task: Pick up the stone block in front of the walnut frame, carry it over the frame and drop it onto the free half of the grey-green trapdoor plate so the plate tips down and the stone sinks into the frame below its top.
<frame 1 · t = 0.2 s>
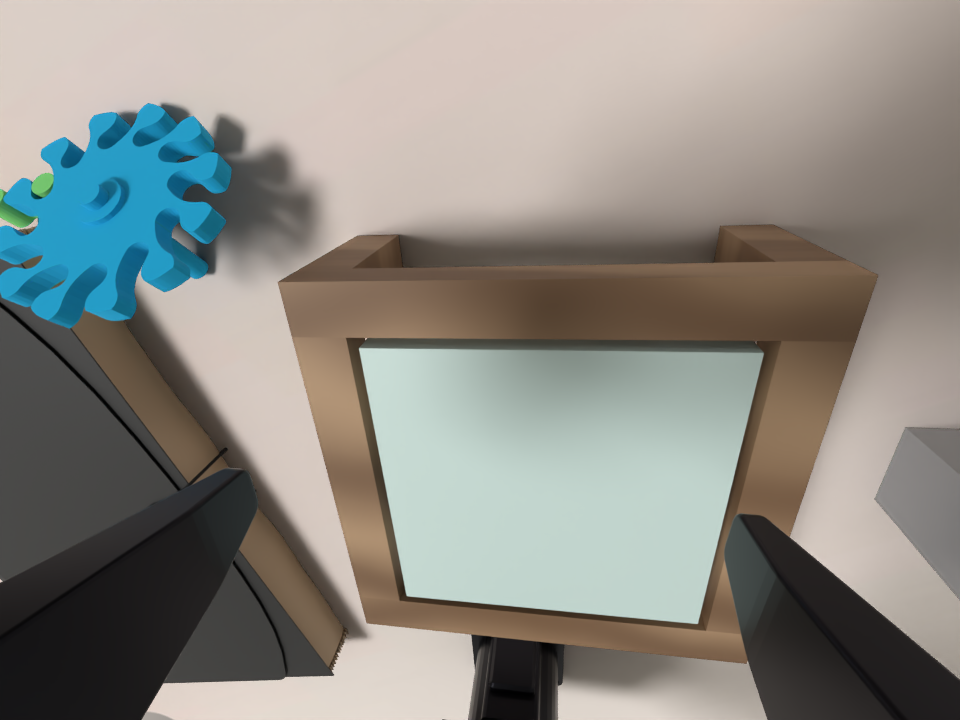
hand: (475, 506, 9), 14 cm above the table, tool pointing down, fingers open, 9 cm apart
gear: (172, 196, 22), on the table
stone block: (940, 466, 23), on the table
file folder: (115, 490, 34), on the table
trapdoor: (546, 491, 19), point 6 cm above the table, hinge at 0.0°
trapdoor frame: (548, 404, 24), on the table
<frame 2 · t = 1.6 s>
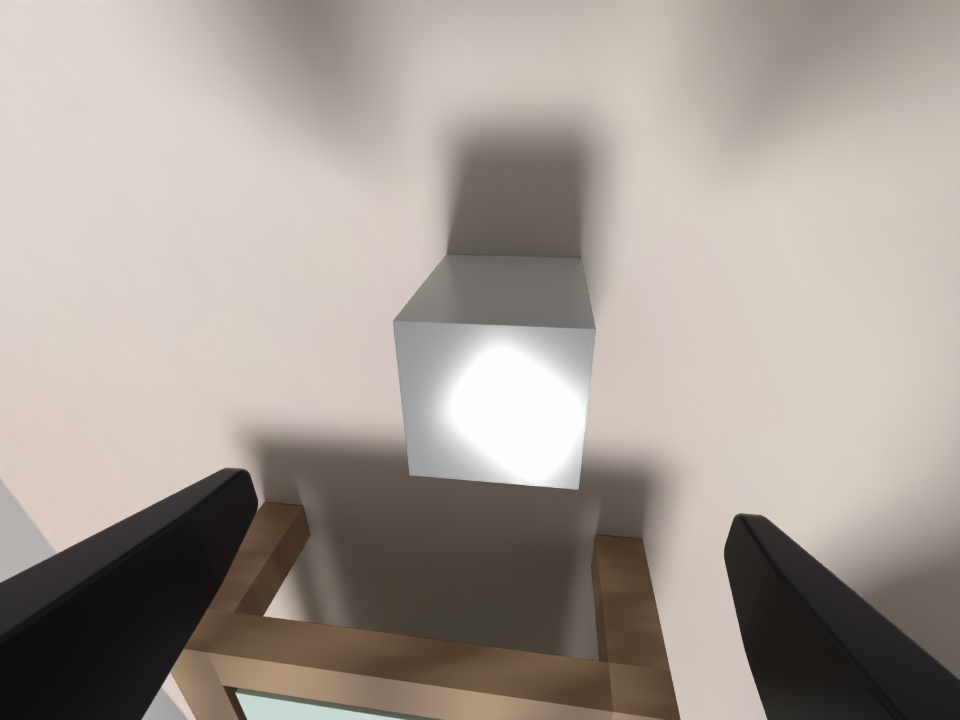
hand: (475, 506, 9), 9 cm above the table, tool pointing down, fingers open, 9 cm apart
stone block: (511, 318, 17), on the table
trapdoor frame: (451, 638, 26), on the table
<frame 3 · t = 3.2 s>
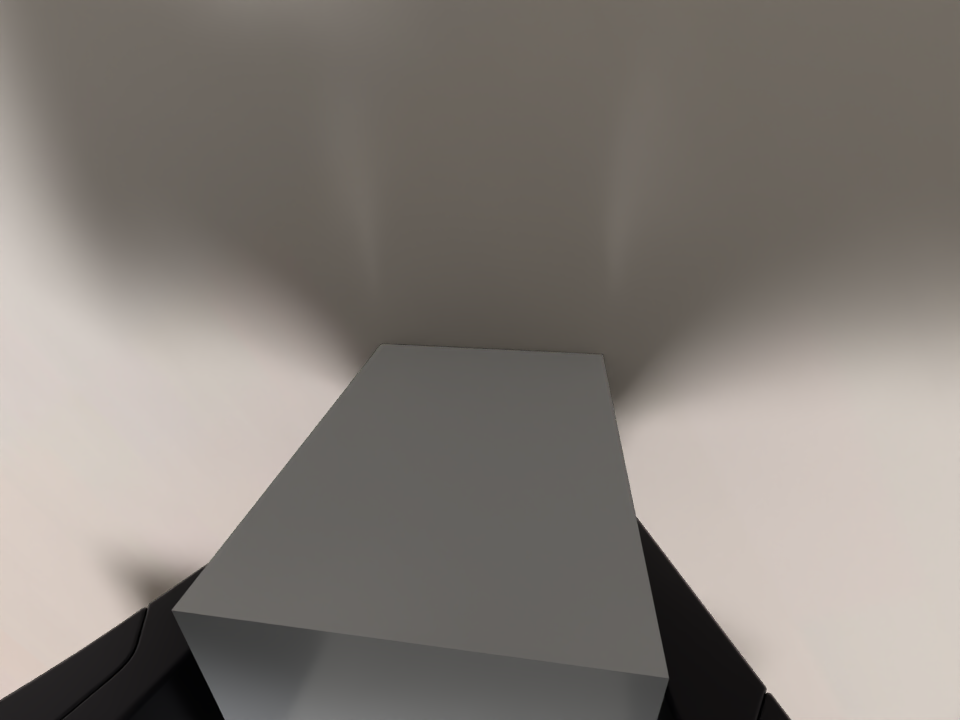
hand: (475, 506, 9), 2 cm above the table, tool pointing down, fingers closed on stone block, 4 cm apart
stone block: (489, 439, 10), on the table, touching gripper
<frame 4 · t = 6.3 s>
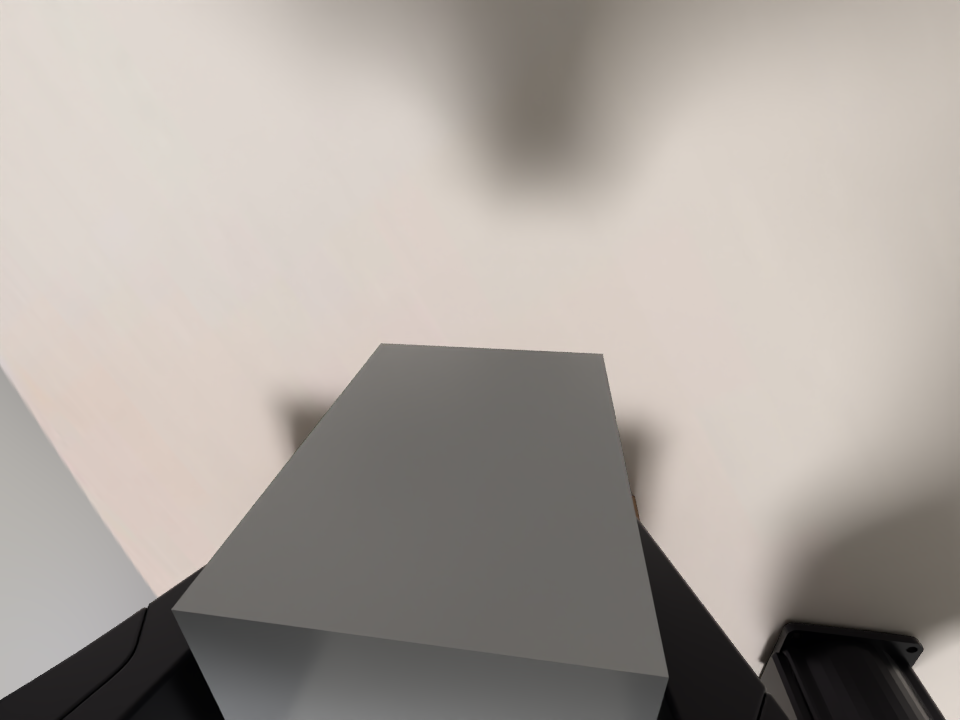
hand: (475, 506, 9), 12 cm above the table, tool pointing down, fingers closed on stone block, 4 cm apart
stone block: (489, 439, 10), point 10 cm above the table, touching gripper
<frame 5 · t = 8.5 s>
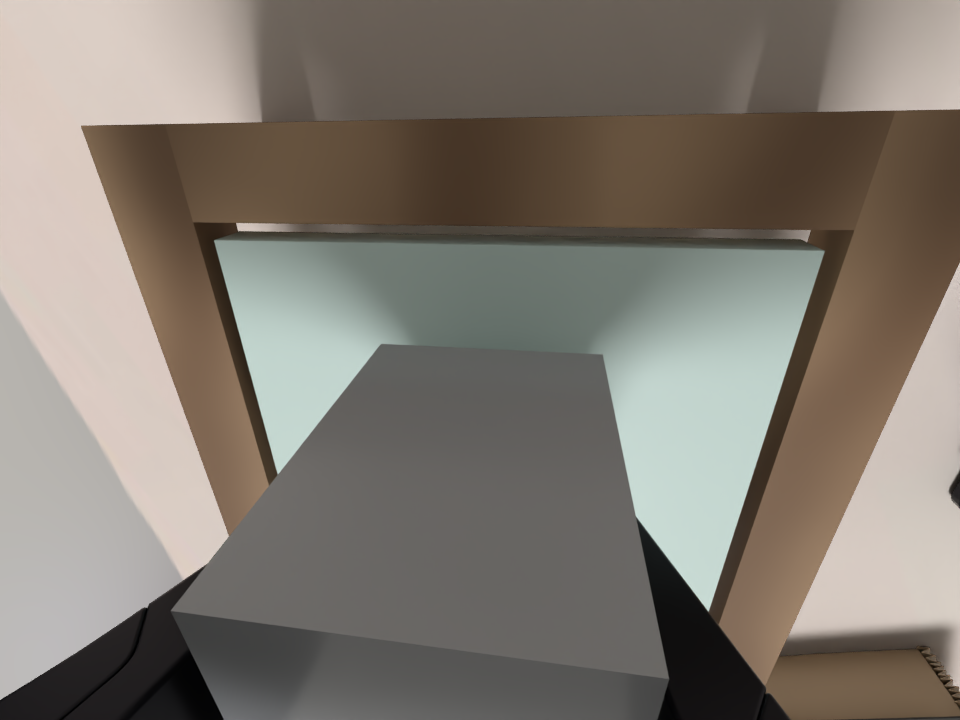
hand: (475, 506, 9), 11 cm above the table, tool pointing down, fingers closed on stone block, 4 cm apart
stone block: (489, 439, 10), point 8 cm above the table, touching gripper
trapdoor: (495, 469, 13), point 6 cm above the table, hinge at 0.0°
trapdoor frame: (513, 364, 19), on the table
when the fingers open (10 cm above the table, at t = 9.5 s): stone block drops 5 cm, resting on trapdoor.
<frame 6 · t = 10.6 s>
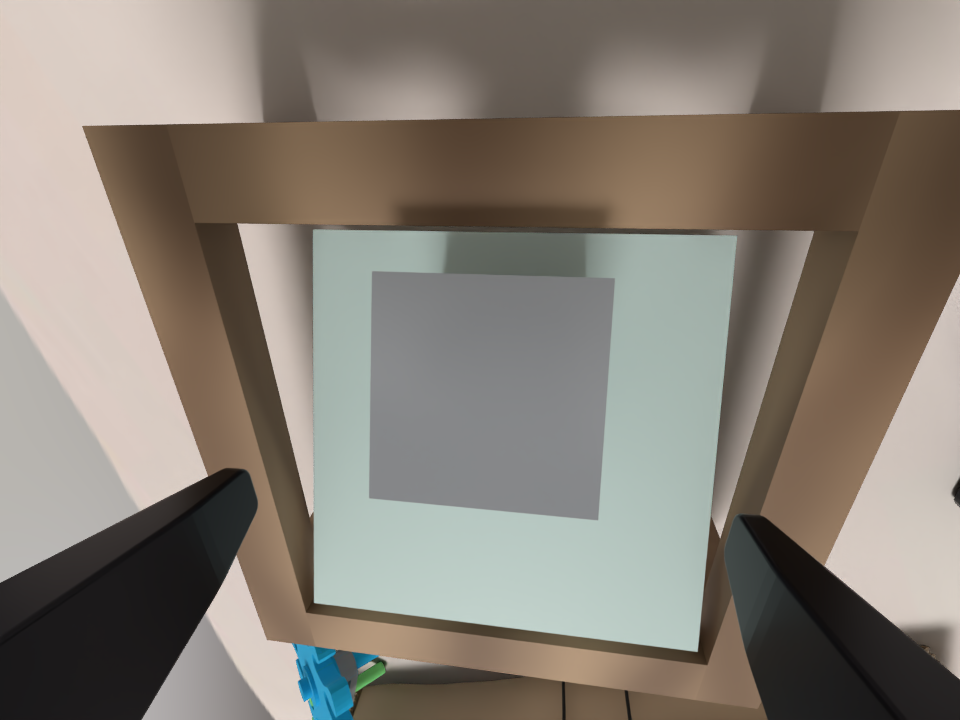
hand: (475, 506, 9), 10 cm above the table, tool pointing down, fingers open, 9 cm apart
gear: (349, 616, 29), on the table
stone block: (508, 361, 15), point 4 cm above the table, tilted 21°, touching trapdoor
trapdoor: (504, 434, 15), point 4 cm above the table, hinge at -20.9°, touching stone block
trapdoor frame: (514, 365, 19), on the table
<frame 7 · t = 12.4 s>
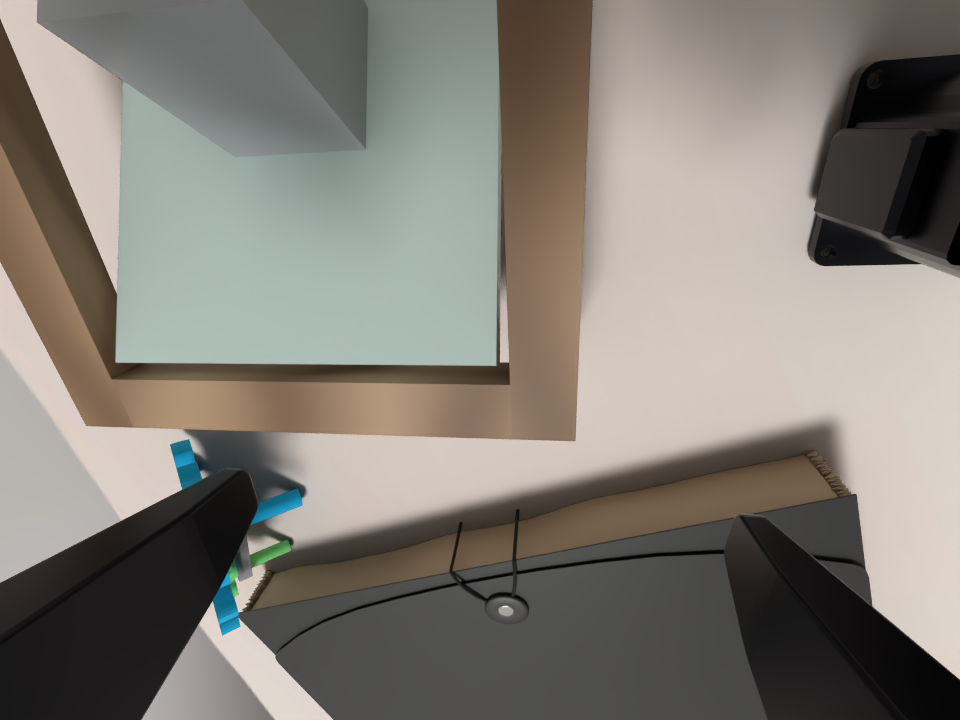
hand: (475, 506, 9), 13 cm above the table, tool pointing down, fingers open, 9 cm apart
gear: (249, 487, 28), on the table
stone block: (300, 84, 15), point 3 cm above the table, tilted 28°, touching trapdoor
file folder: (559, 636, 31), on the table
trapdoor: (305, 168, 15), point 3 cm above the table, hinge at -27.8°, touching stone block
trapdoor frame: (342, 140, 18), on the table
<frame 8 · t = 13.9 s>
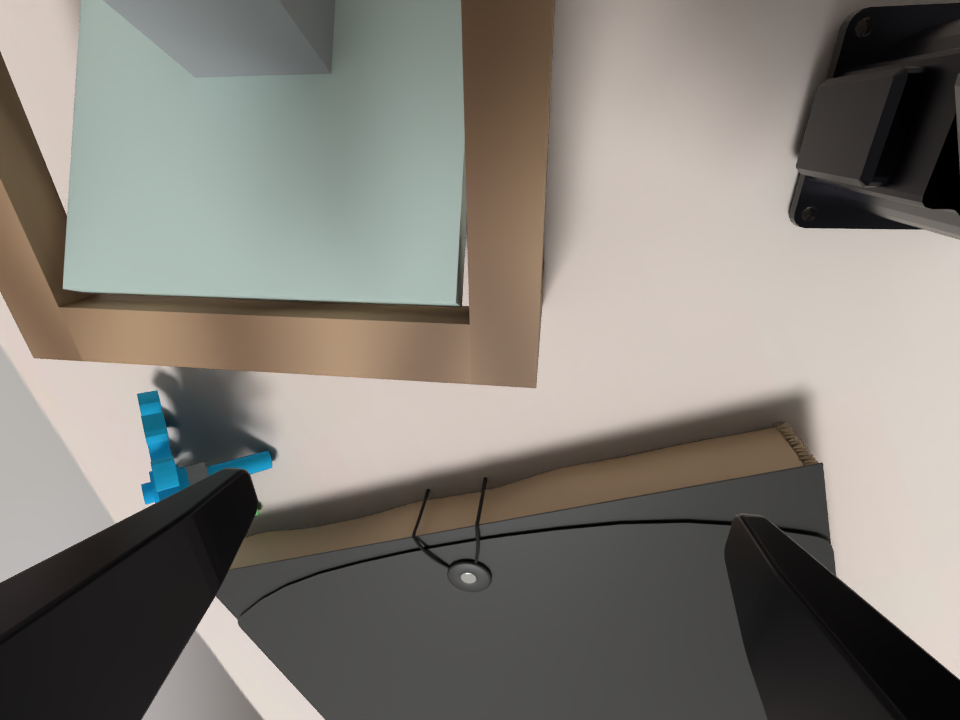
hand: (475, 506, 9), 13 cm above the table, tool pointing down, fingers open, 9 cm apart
gear: (219, 447, 27), on the table
stone block: (266, 3, 14), point 3 cm above the table, tilted 28°, touching trapdoor
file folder: (527, 612, 31), on the table
trapdoor: (269, 94, 15), point 3 cm above the table, hinge at -27.8°, touching stone block
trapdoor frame: (314, 76, 17), on the table
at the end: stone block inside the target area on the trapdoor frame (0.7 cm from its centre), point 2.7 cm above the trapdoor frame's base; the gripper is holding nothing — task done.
